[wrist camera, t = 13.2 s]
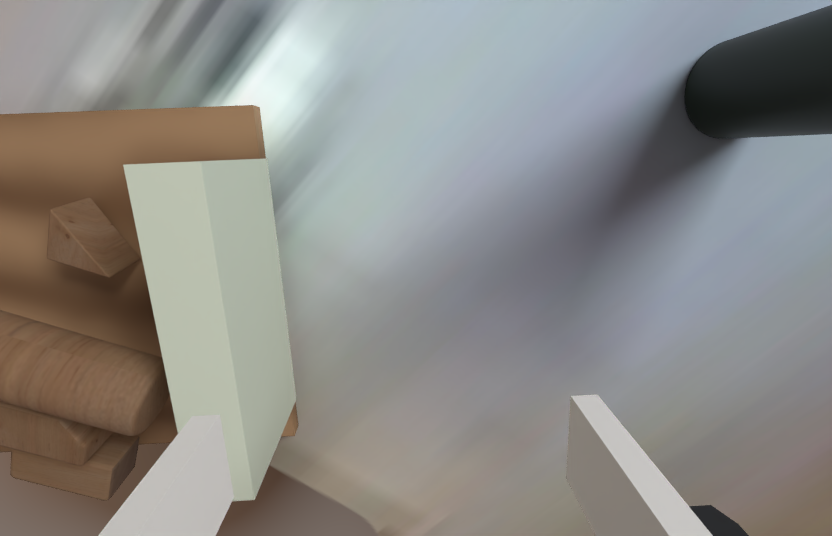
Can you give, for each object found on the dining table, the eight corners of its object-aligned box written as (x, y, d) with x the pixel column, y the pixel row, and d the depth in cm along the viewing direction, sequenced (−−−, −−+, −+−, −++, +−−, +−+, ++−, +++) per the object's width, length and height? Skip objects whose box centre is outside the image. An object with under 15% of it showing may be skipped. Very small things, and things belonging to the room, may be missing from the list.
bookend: (215, 160, 26) (123, 164, 17) (267, 158, 26) (201, 161, 17) (252, 401, 30) (192, 503, 21) (296, 399, 30) (254, 499, 21)
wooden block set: (42, 418, 32) (184, 456, 33) (-85, 527, 24) (109, 572, 25) (58, 186, 26) (232, 243, 27) (-105, 227, 18) (152, 306, 19)
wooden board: (-116, 121, 26) (-194, 116, 23) (259, 107, 26) (239, 100, 23) (-10, 442, 32) (-59, 477, 28) (298, 425, 32) (286, 457, 29)
